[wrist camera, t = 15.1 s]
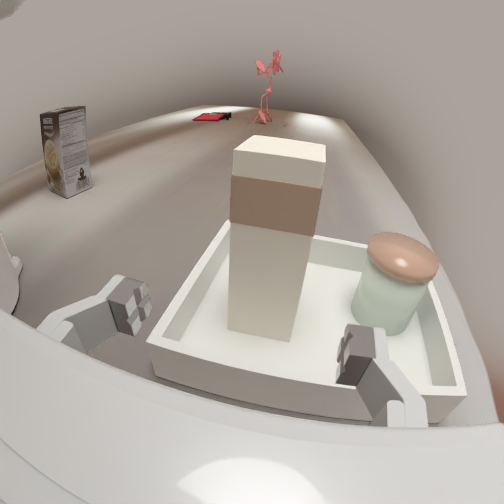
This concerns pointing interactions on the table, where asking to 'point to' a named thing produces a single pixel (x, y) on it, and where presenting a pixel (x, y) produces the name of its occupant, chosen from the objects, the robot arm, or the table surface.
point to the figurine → (275, 67)
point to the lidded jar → (392, 282)
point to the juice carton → (271, 232)
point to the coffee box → (66, 150)
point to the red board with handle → (213, 116)
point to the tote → (298, 340)
